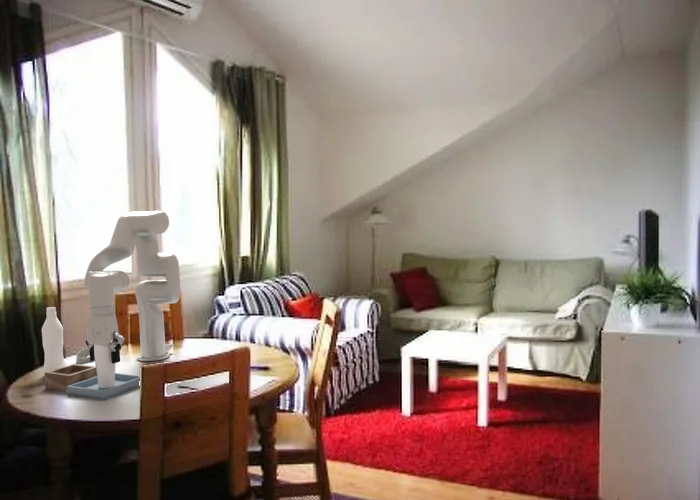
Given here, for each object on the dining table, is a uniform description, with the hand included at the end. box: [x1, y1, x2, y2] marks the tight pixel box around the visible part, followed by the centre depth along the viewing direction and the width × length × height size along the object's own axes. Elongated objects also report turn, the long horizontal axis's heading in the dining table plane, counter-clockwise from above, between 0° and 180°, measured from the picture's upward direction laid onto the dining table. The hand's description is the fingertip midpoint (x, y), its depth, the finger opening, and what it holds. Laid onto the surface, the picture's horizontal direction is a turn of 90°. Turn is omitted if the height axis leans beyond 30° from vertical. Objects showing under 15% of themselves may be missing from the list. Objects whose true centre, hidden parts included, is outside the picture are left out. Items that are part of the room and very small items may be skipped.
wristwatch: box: [75, 347, 92, 364], centre depth 248 cm, size 9×6×5 cm
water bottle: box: [41, 306, 66, 373], centre depth 228 cm, size 7×7×25 cm
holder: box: [44, 363, 97, 392], centre depth 214 cm, size 12×12×6 cm
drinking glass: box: [94, 345, 116, 389], centre depth 207 cm, size 7×7×15 cm
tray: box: [66, 372, 141, 401], centre depth 207 cm, size 18×16×3 cm
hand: (105, 361), depth 207 cm, fingers open, 9 cm apart
